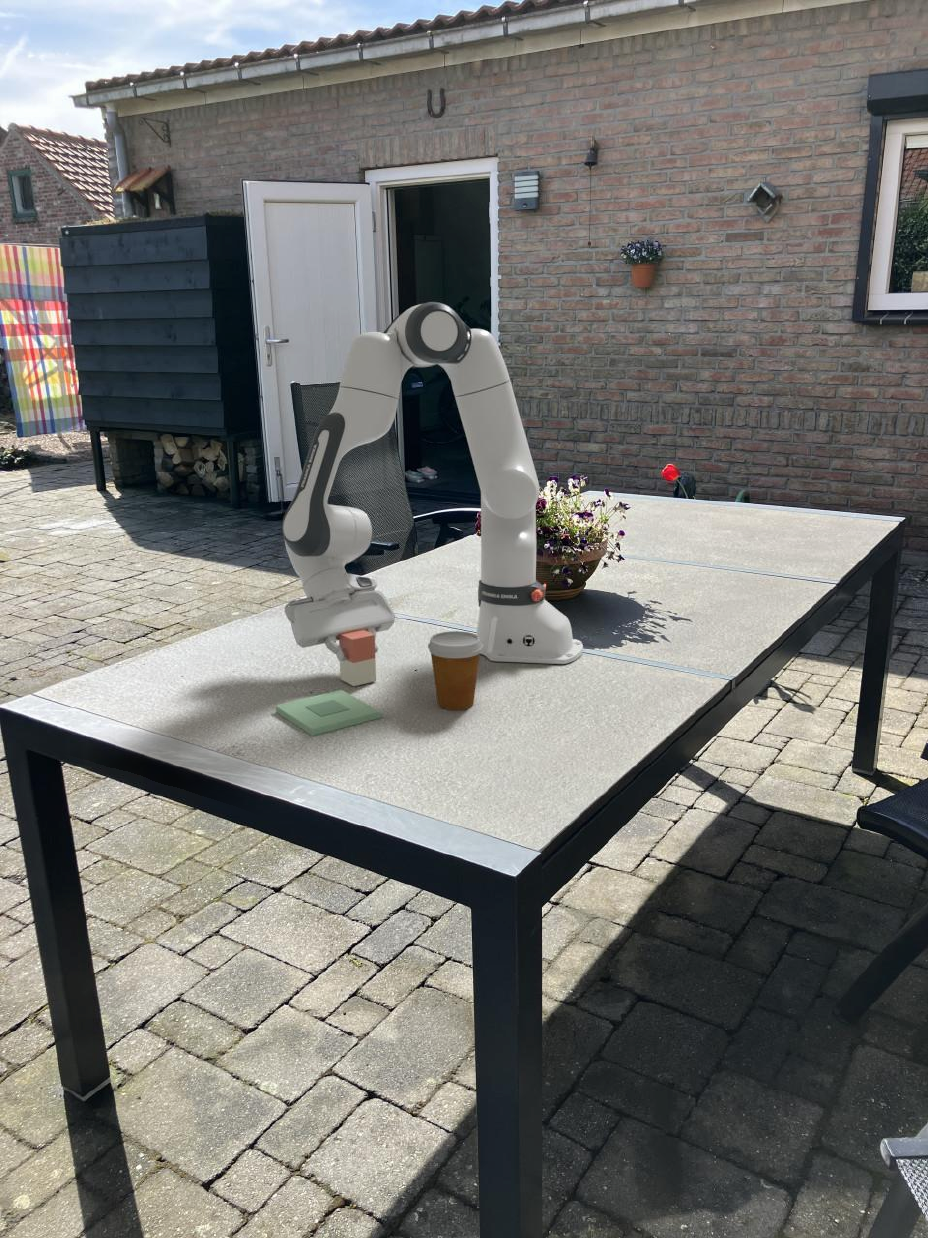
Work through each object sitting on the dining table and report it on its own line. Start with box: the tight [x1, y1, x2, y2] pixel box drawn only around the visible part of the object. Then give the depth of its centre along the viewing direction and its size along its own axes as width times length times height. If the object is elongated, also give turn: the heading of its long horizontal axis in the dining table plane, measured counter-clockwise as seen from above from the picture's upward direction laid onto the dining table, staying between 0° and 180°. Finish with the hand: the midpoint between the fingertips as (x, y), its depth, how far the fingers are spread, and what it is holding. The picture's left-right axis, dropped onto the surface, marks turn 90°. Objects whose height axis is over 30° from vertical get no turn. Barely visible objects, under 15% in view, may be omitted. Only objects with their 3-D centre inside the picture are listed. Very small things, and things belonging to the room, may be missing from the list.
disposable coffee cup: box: [427, 630, 483, 711], centre depth 179 cm, size 10×10×12 cm
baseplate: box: [275, 689, 381, 737], centre depth 175 cm, size 13×13×1 cm
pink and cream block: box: [338, 629, 377, 687], centre depth 190 cm, size 5×5×9 cm
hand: (359, 656), depth 189 cm, fingers closed on pink and cream block, 5 cm apart
